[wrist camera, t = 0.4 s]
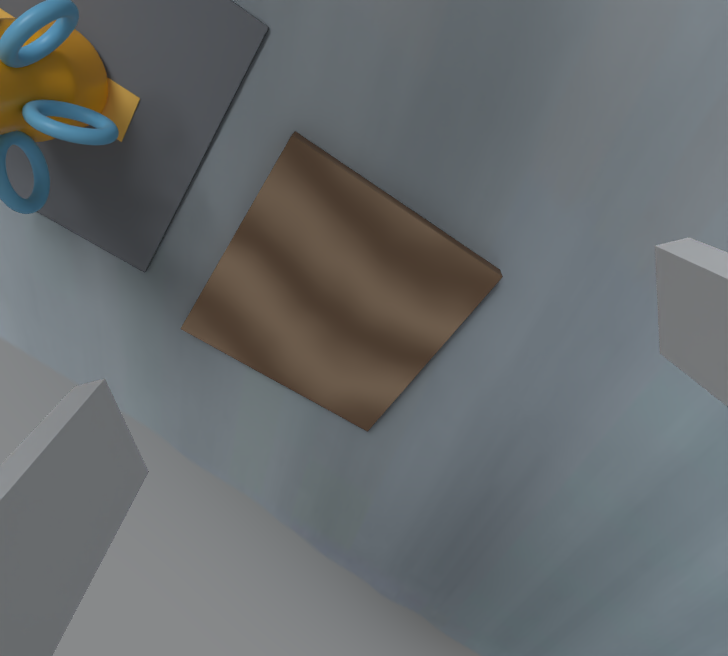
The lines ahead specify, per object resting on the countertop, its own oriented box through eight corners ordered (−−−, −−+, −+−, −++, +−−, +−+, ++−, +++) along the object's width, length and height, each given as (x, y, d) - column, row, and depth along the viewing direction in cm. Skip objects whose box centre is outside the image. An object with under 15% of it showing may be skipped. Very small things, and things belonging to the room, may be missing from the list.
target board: (294, 131, 34) (291, 134, 33) (499, 269, 38) (502, 276, 37) (185, 320, 41) (180, 328, 40) (368, 421, 45) (367, 431, 44)
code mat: (-57, -207, 27) (-62, -209, 27) (268, 27, 31) (267, 27, 31) (-123, 119, 35) (-127, 120, 35) (145, 271, 39) (144, 273, 39)
